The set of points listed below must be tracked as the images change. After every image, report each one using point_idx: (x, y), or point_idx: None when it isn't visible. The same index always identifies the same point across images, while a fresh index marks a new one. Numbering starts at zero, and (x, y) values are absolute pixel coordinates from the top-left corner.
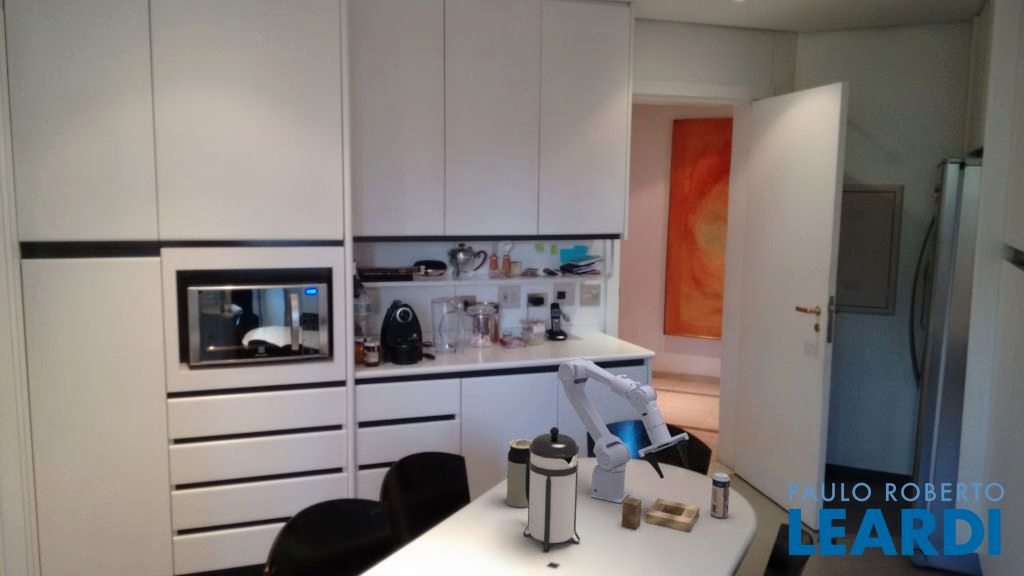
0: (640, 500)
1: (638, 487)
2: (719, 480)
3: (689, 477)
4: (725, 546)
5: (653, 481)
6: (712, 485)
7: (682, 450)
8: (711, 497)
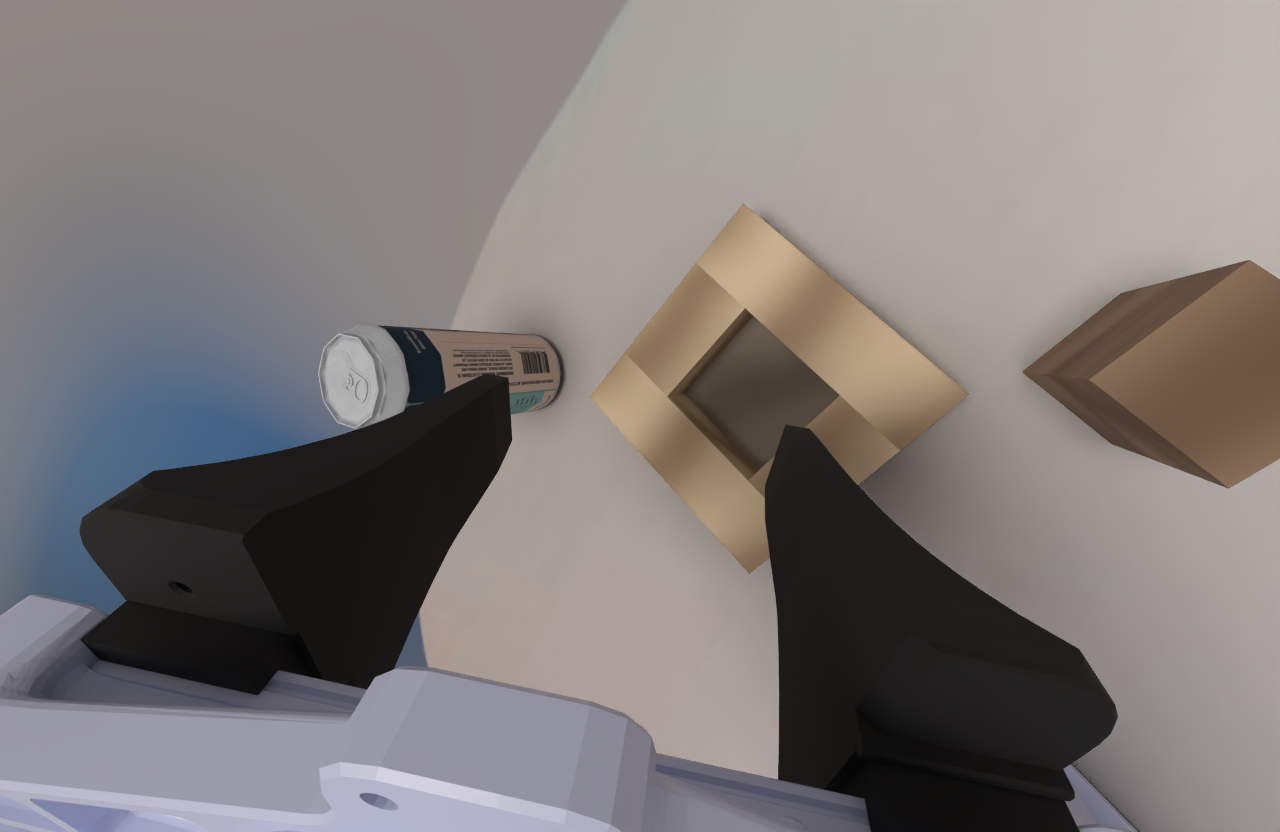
0: (1109, 369)
1: None
2: (389, 341)
3: None
4: (660, 43)
5: None
6: None
7: (351, 466)
8: None
